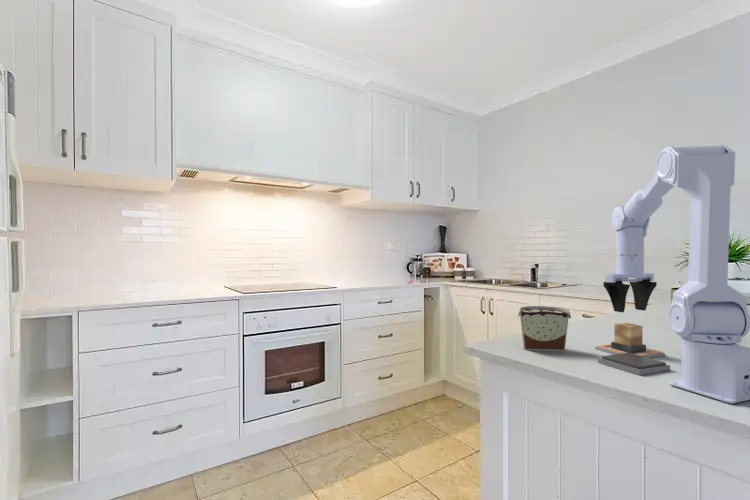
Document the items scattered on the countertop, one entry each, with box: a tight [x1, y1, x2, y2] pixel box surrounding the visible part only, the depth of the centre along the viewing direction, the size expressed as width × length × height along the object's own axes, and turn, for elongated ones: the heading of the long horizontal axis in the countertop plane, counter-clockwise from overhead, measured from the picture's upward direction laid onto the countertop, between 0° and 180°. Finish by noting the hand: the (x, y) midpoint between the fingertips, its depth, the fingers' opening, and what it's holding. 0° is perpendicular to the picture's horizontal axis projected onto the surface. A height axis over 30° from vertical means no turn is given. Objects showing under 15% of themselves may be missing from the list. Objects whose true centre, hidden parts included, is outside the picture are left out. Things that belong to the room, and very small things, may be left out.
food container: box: [517, 305, 572, 352], centre depth 96 cm, size 12×6×10 cm, turn 82°
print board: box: [594, 343, 666, 359], centre depth 91 cm, size 10×10×1 cm
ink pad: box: [597, 353, 671, 376], centre depth 80 cm, size 9×9×2 cm
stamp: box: [610, 322, 647, 353], centre depth 92 cm, size 5×5×6 cm
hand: (629, 310), depth 94 cm, fingers open, 7 cm apart
